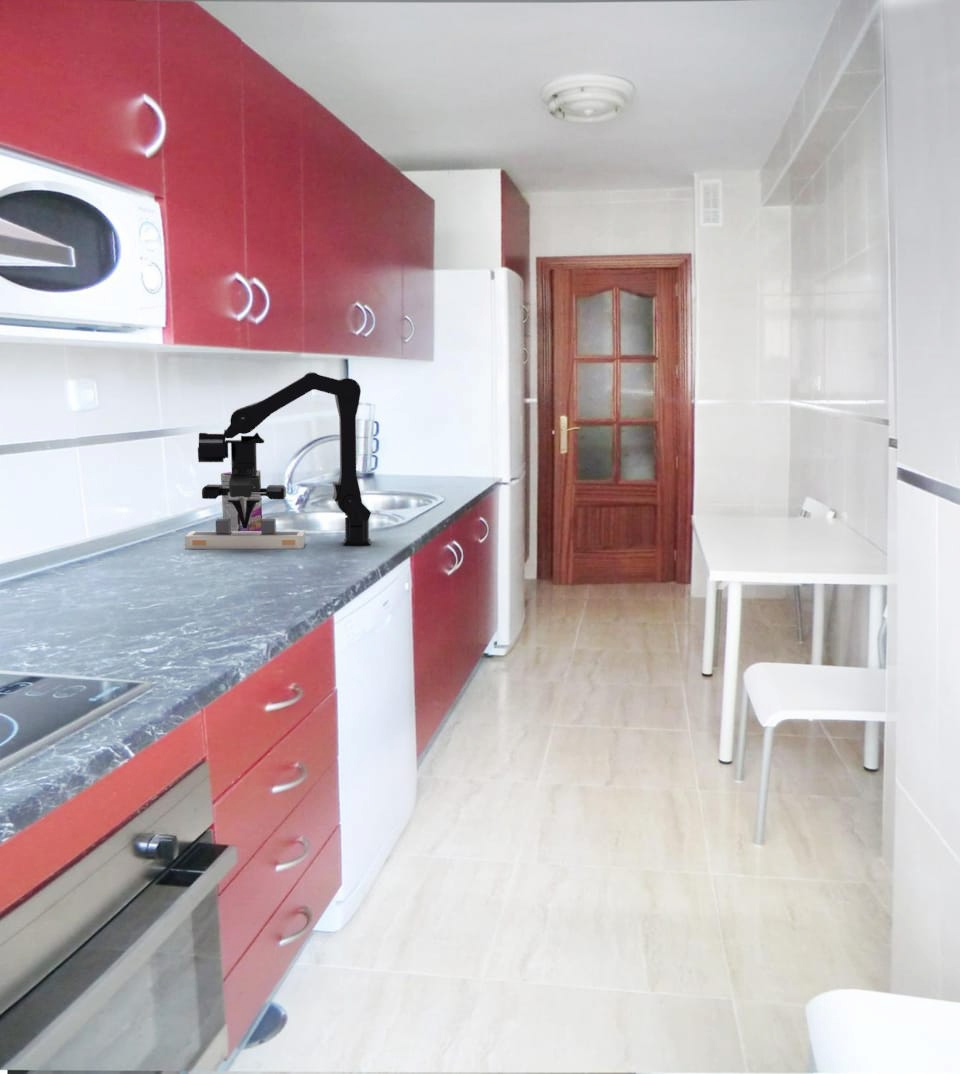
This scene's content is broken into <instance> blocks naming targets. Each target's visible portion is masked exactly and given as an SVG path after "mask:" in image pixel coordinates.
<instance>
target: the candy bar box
mask: <svg viewBox="0 0 960 1074" xmlns="http://www.w3.org/2000/svg"><path fill="white" fill-rule="evenodd" d="M231 474H232V471H228V472H223V473H220V482H221V484H220V485H222V486H223V488H229V481H230V477H231ZM257 476H260V484H261V469H257ZM260 488H262V484H261V486H260ZM243 499H244V509H245V516H246V501H247V500H248V499H249V497H243ZM227 500H228V496H221V501H222V502H221V503H222V504H221V505H222V519H231V531H261V521H262V519H263V509H262V500H261V501H260V502H259V503H256V505H255V507H254V509H253V512H252V515H251V518H250V521H249V524H248V527H247V528H243V526H242V523H241V520H240V518H239V515H238V512H237V510H236V508H235V507H234V505H233V504H232V503H229V502H228V501H227Z"/></svg>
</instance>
